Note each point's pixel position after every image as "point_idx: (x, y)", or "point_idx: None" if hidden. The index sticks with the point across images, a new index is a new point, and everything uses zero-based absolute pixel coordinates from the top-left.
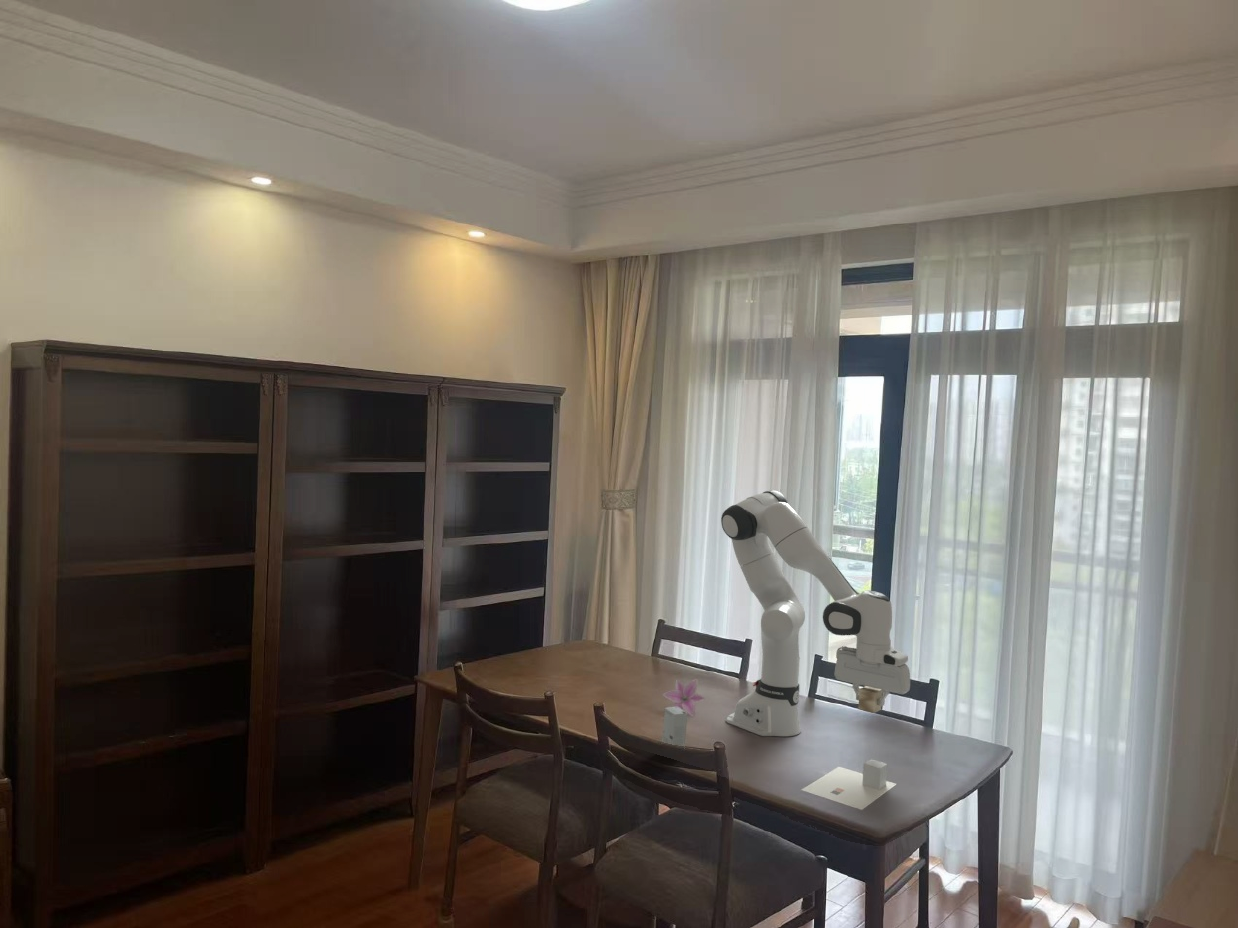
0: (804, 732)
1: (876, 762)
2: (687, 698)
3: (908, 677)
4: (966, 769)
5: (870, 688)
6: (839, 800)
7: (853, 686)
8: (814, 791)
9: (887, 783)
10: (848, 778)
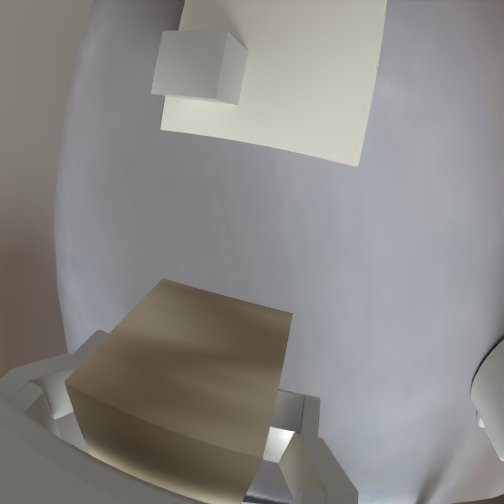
0: (462, 386)
1: (187, 77)
2: None
3: None
4: (83, 332)
5: (171, 484)
6: None
7: (346, 494)
8: None
9: (183, 114)
10: (301, 76)
